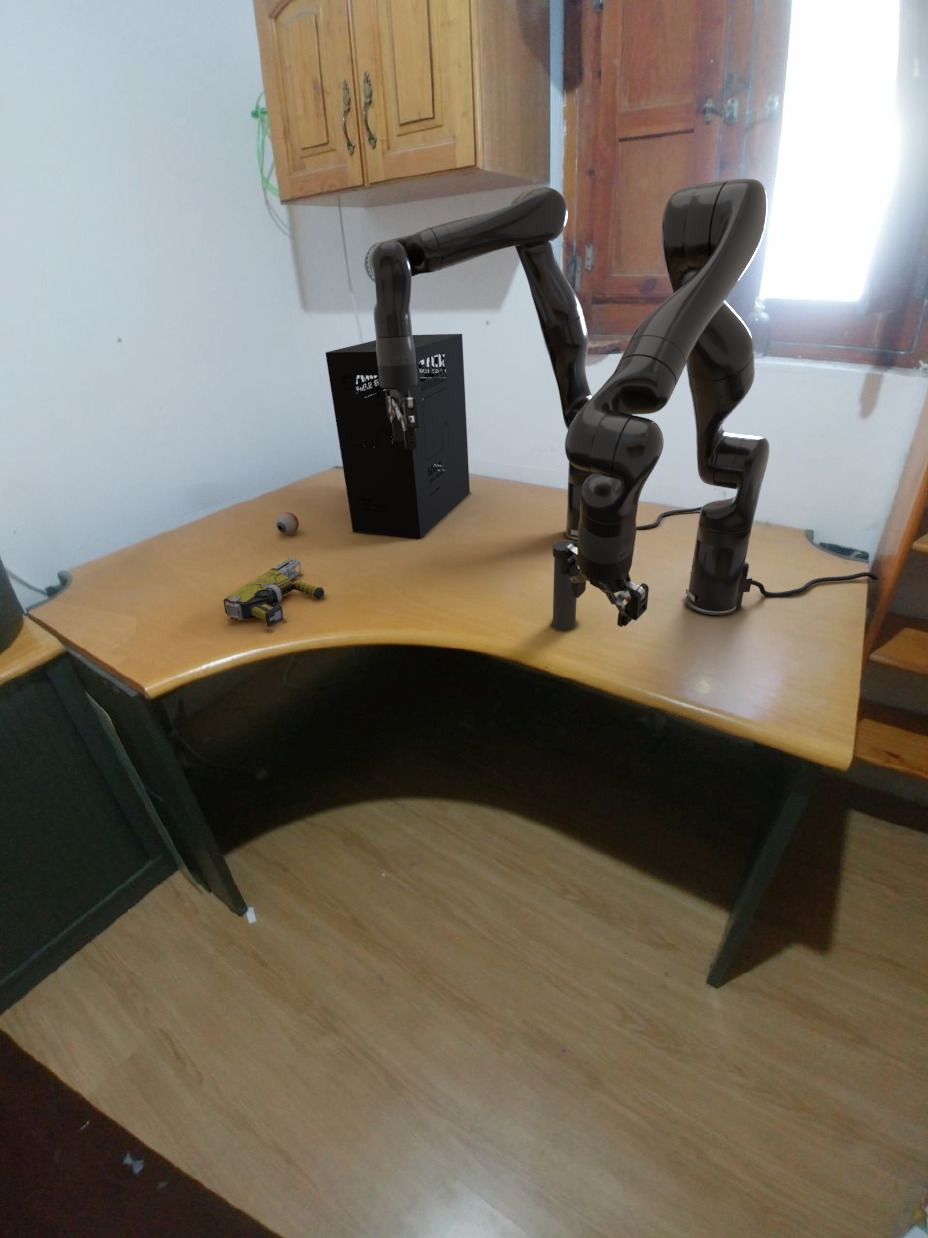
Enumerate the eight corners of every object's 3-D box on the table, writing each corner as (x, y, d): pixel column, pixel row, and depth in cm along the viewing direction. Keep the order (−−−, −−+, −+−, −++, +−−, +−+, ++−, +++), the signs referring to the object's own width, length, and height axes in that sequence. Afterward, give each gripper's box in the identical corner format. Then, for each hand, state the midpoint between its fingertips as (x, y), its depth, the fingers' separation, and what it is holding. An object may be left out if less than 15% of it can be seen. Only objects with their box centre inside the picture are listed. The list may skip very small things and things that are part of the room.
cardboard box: (410, 488, 194) (395, 335, 172) (469, 492, 188) (462, 333, 165) (352, 531, 164) (325, 352, 142) (420, 538, 158) (403, 351, 135)
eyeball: (273, 537, 164) (268, 516, 161) (287, 528, 169) (282, 508, 166) (291, 539, 161) (286, 518, 158) (305, 530, 166) (301, 510, 163)
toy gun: (343, 567, 137) (286, 555, 141) (282, 613, 117) (218, 598, 121) (344, 585, 139) (288, 574, 143) (284, 634, 119) (221, 619, 123)
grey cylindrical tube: (555, 617, 119) (558, 542, 111) (577, 620, 117) (581, 544, 109) (550, 628, 116) (551, 551, 107) (572, 631, 114) (575, 553, 106)
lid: (556, 547, 112) (556, 538, 111) (583, 550, 110) (583, 541, 109) (549, 558, 108) (549, 549, 107) (577, 561, 106) (577, 552, 105)
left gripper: (426, 362, 113) (433, 449, 121) (404, 355, 125) (411, 435, 133) (387, 367, 111) (397, 455, 119) (369, 359, 123) (378, 440, 131)
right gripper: (668, 549, 79) (653, 616, 92) (582, 500, 86) (580, 570, 99) (632, 584, 77) (622, 649, 90) (547, 532, 83) (550, 599, 97)
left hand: (404, 444), depth 126 cm, fingers open, 8 cm apart
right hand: (600, 607), depth 95 cm, fingers open, 8 cm apart
